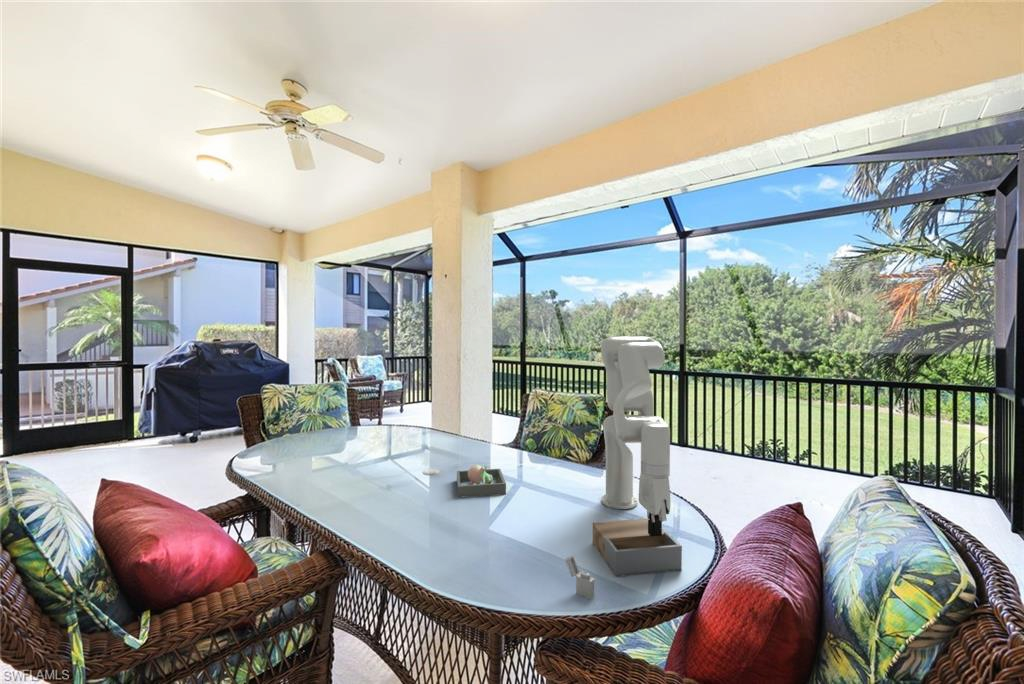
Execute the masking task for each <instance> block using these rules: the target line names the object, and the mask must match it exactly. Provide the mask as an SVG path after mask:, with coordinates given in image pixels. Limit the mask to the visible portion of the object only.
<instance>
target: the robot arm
mask: <svg viewBox="0 0 1024 684" xmlns="http://www.w3.org/2000/svg"><path fill="white" fill-rule="evenodd" d="M600 354H601V355H600V356H601V359H602V362H603V365H604V368H605V371H606V400H607V402H606V403H607V407H608V408H609V409H610V410H611V411H613V413H612V415H609V416H606V417H605V418H604V420H603V424H602V428H603V429H602V430H603V434H604V435H603V436H604V444H605V494H603V495H602V496H601V499H600V500H601V503H602V504H603V505H604V506H606V507H608V508H611V509H616V510H629V509H633V508H635V507H637V506H638V503H639V505H641V507H643V508H644V510H646V515H647V519H650V520H648V534H649V535H650V536H651V537H654V536H661V535H662V530H663V529H662V528H663V525H662V524H663V522H667V520H668V519H667V515H669V514H670V512H671V488H670V487H671V486H670V479H669V477H670V476H671V427H670V426H669V424H667V422H666V421H665V419H664V418H662V417H661V416H657V415H654V395H653V392H652V389H651V388H652V386H653V385H652V384H653V383H652V379H651V375H650V370H649V369H660V368H662V367H663V366H664V363H665V360H666V358H665V355H666V354H665V351H664V348H663V346H662V345H661V344H660V342H658V341H657V340H655V339H653V338H652V337H650V336H611V337H606V338H604V339H603V341H601V343H600ZM625 412H638V414H626V413H625ZM626 443H627V444H640V473H639V483H638V498H636V497H634V457H633V456H634V455H633V452H632V451H631V448H629V447H628V445H627V444H626Z"/></svg>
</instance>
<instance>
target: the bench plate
mask: <svg viewBox="0 0 1024 684" xmlns="http://www.w3.org/2000/svg"><path fill="white" fill-rule="evenodd" d="M648 520H650V519H648V518H642V519H641V518H640V519H627V520H613V521H601V522H599V521H598V522H592V544H593V545H594V547H595V549H596V550H597V551H598V553H599V555H600V556H601V557H602V559H603V561H605V537H608V538H609V540H610V541H611V542H612V543H613V545H614V546H615V547H616V549H617V550H623V549H635V548H646V547H658V546H664V532H665V531H664V530H663V529H662V535H661V536H654V537H651V536H650V535H649V534H648Z"/></svg>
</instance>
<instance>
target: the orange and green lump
mask: <svg viewBox="0 0 1024 684" xmlns="http://www.w3.org/2000/svg"><path fill="white" fill-rule="evenodd" d="M487 467H488V466H487V465H484V466H481V465H480V464H475V465H473V466H470V468H469V469H468V470H469V471H468V478H469V480H470V481H468V483H467V484H466V485H477V484H481V483H482V484H492V482H493V481H494V479H493V477H492V475H489V474H487V473H486V472H485V470H486V469H487Z"/></svg>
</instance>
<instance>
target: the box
mask: <svg viewBox="0 0 1024 684" xmlns="http://www.w3.org/2000/svg"><path fill="white" fill-rule="evenodd" d="M682 552H683V547H682V545H681V544H680V543H679V542H678V541H677V540H676V539H675V538H674V537H673V536H672V535H671V534H670V533H669V532H668V531H664V546H658V547H646V548H635V549H623V550H617V549H616V547H615V546H614V545H613V543H612V542H611V541H610V540H609V538H608V537H605V560H604V562H605V563H606V565H607V567H608V568H609V569H610V570H611V572H612V574H613V575H614V577H616V578H618V577H628V576H636V575H648V574H649V575H650V574H658V573H660V574H661V573H668V572H678V571H679V572H680V571H682V568H683V567H682V559H683V557H682V555H683V554H682Z"/></svg>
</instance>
